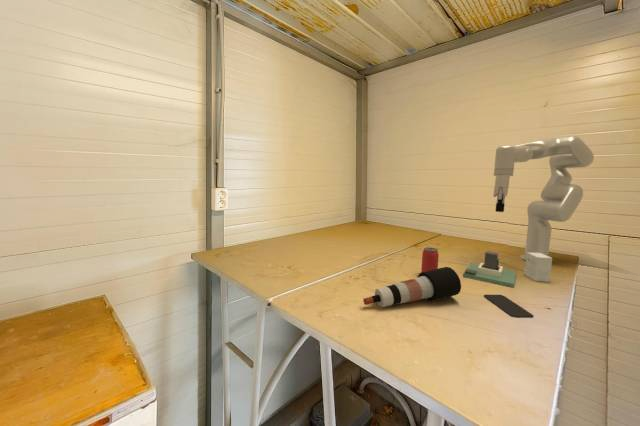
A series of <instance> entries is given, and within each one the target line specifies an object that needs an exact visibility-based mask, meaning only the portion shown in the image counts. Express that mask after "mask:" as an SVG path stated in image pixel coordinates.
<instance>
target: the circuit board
mask: <svg viewBox="0 0 640 426" xmlns="http://www.w3.org/2000/svg"><path fill="white" fill-rule="evenodd" d="M479 265H480V264H477V263H470V264H469V265H468V266H467V268H466V269H465V270H464V272H463V273H462V277H464V278H468V279H471V280H477V281H480V282H481V281H482V282H486V283H490V284H495V285H498V286H499V285H501V286H505V287H509V288H514V287H515V283H516V275H517V271H516V270H509V269H504V268H503V271H502V275H501V278H500V277H495V276H490V275H486V274H481V273H478V267H479Z"/></svg>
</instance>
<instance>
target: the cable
mask: <svg viewBox="0 0 640 426" xmlns="http://www.w3.org/2000/svg"><path fill="white" fill-rule="evenodd" d="M460 279H461V278H460V276H459V275H458V274H457V272H456V271H455V270H454V269H453V268H452V267H449V266H443V267H440V268H438V269H434V270H430V271H425V272H422V273H421V272H420V273H419V274H418V275H417V277H415V278H411V279H405V280H402V281H400V282H398V283H393V284H390V285H386V286H384V287H380V288H377V289H375V290H374V295H371V296H369V297H364V298H363V304H364V305H365V306H367V305H371V304H377V305H378V306H379V307H380V308H387V307H390V306H394V305H400V304H404V303H412V302H415V301H419V300H423V299H424V300H425V299H426V300H427V301H428V302H435V301H439V300H443V299H446V298H450V297H453V296H457V295H458V294H460V293H461V289H462V284H461V280H460Z"/></svg>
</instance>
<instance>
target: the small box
mask: <svg viewBox="0 0 640 426" xmlns="http://www.w3.org/2000/svg"><path fill="white" fill-rule="evenodd" d="M552 266H553V257H551V256H549V255H548V256H546V255H544V254H542V253H532V252H527V256H526V260H525V267H524V275H525V276H527V277H528V278H529V279H531V280H532V281H534V282H546V283H550V281H551V276H552V275H551V272H552Z"/></svg>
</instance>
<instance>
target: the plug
mask: <svg viewBox="0 0 640 426" xmlns="http://www.w3.org/2000/svg"><path fill="white" fill-rule="evenodd" d="M483 263H484V268H487V269H492V270H498V266H500V258H499V252H496V251H491V250H486V251H485V253H484V262H483Z"/></svg>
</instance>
